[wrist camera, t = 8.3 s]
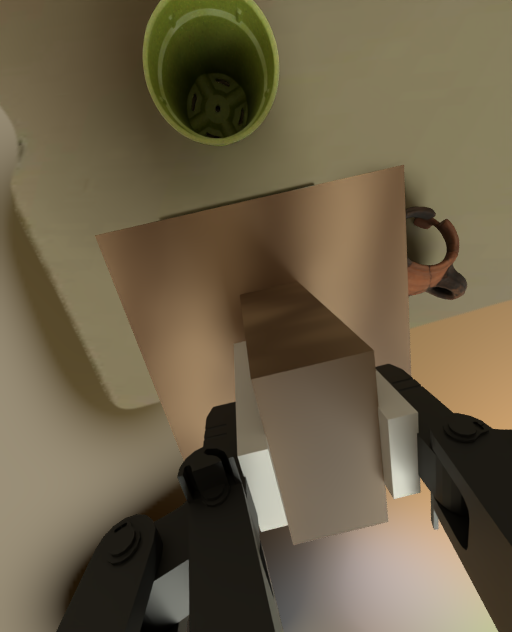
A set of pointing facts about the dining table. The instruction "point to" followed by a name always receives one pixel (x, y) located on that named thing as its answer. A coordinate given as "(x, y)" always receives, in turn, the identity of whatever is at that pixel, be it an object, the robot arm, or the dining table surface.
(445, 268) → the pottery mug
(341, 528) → the brown piece
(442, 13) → the dining table surface
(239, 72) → the plant pot
